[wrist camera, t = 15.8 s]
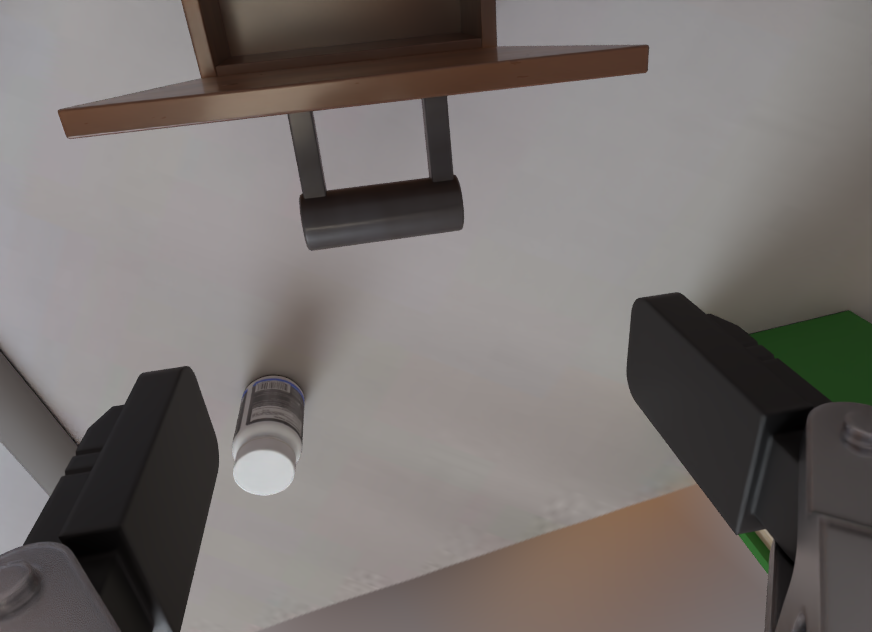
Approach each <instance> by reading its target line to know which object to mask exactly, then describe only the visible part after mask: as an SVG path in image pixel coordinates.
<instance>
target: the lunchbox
mask: <svg viewBox="0 0 872 632" xmlns="http://www.w3.org/2000/svg"><path fill="white" fill-rule="evenodd" d="M181 1H182V5H183V9H184V13H185V17H186V21H187V25H188V28H189V32H190V36H191V40H192V44H193V48H194V52H195V55H196V59H197V63H198V67H199V71H200V75H201V78H209V77H218V76H227V75H237V74H246V73H255V72H265V71H274V70H283V69H293V68H302V67H311V66H320V65H330V64H339V63H348V62H358V61H367V60H376V59H385V58H395V57H404V56H413V55H423V54H432V53H441V52H450V51H460V50H469V49H478V48H488V47H497V32H496V0H181Z"/></svg>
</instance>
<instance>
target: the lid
mask: <svg viewBox="0 0 872 632" xmlns="http://www.w3.org/2000/svg"><path fill="white" fill-rule="evenodd" d="M648 55H649V46H648V45H575V46H497V47H488V48H478V49H469V50H460V51H450V52H441V53H432V54H423V55H413V56H404V57H395V58H385V59H376V60H367V61H358V62H348V63H339V64H330V65H320V66H311V67H302V68H293V69H283V70H274V71H265V72H255V73H246V74H237V75H227V76H218V77H209V78H200V79H196V80H191V81H186V82H182V83H177V84H173V85H168V86H164V87H159V88H154V89H150V90H145V91H141V92H136V93H132V94H127V95H123V96H118V97H113V98H109V99H104V100H100V101H95V102H91V103H86V104H82V105H77V106H72V107H68V108H63V109H60V110H58V114H59V117H60V120H61V123H62V126H63V128H64V131H65V134H66V137H67V138H69V139H74V138H82V137H91V136H100V135H109V134H117V133H126V132H135V131H143V130H152V129H161V128H170V127H178V126H187V125H196V124H204V123H213V122H222V121H231V120H239V119H248V118H257V117H265V116H274V115H283V114H288V119H289V125H290V130H291V135H292V140H293V145H294V151H295V156H296V161H297V166H298V171H299V177H300V182H301V187H302V192H303V194H301V195H300V198H299V205H300V214H301V221H302V227H303V232H304V237H305V241H306V244H307V247H308V249H309V250H311V251H313V250H320V249H328V248H335V247H342V246H350V245H357V244H364V243H371V242H379V241H386V240H393V239H401V238H408V237H415V236H422V235H430V234H437V233H444V232H452V231H459V230H461V229H462V228H463V224H464V207H463V199H462V192H461V188H460V184H459V181H458V178H457V176H456V175H453V165H452V152H451V140H450V128H449V116H448V104H447V96H448V95H457V94H466V93H474V92H483V91H492V90H500V89H509V88H518V87H527V86H535V85H544V84H553V83H561V82H570V81H579V80H588V79H596V78H605V77H614V76H622V75H631V74H640V73H646V72H647V71H648ZM413 99H422V109H423V119H424V129H425V139H426V149H427V159H428V169H429V178H422V179H414V180H406V181H398V182H391V183H383V184H375V185H367V186H359V187H352V188H344V189H336V190H328V191H327V189H326V184H325V178H324V172H323V166H322V161H321V155H320V149H319V144H318V138H317V132H316V126H315V121H314V115H313V111H318V110H326V109H335V108H344V107H352V106H361V105H370V104H379V103H387V102H396V101H405V100H413Z"/></svg>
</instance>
